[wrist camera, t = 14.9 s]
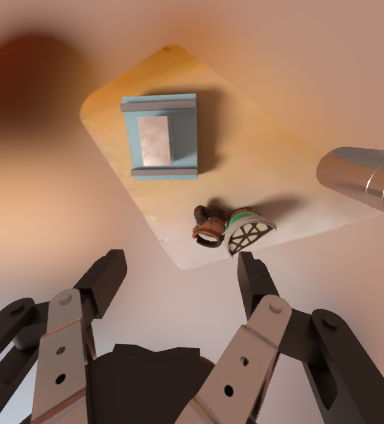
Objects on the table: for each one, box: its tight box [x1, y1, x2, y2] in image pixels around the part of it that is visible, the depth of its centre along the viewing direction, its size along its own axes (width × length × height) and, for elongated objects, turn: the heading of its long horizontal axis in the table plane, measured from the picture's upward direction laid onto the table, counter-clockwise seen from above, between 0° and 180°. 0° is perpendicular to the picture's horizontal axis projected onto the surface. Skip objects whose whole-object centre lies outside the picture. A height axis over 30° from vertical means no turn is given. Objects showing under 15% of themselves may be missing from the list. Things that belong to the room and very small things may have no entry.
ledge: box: [120, 93, 198, 180], centre depth 39 cm, size 14×16×6 cm
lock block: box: [137, 116, 176, 166], centre depth 34 cm, size 5×8×6 cm, turn 2°
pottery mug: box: [192, 205, 228, 248], centre depth 47 cm, size 12×10×8 cm
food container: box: [224, 207, 277, 258], centre depth 43 cm, size 12×6×10 cm, turn 132°
